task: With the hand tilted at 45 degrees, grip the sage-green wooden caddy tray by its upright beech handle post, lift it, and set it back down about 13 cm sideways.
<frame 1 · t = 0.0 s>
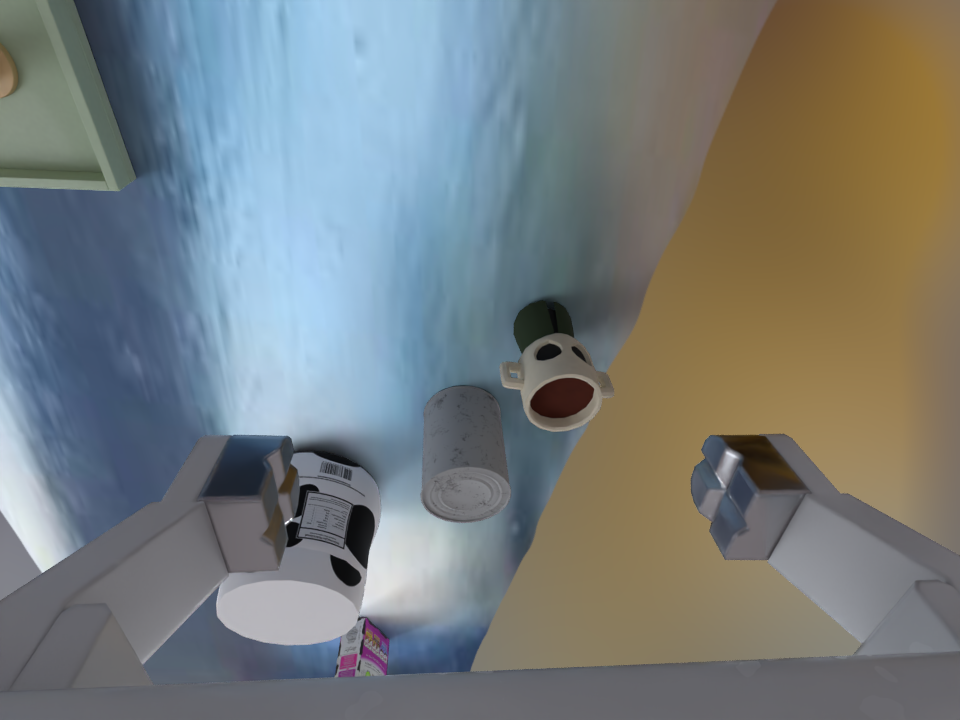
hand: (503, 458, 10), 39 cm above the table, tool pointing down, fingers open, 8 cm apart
milk container: (320, 480, 70), on the table
grey tin can: (462, 413, 64), on the table
character mug: (540, 321, 56), on the table
candy bar box: (366, 629, 98), on the table
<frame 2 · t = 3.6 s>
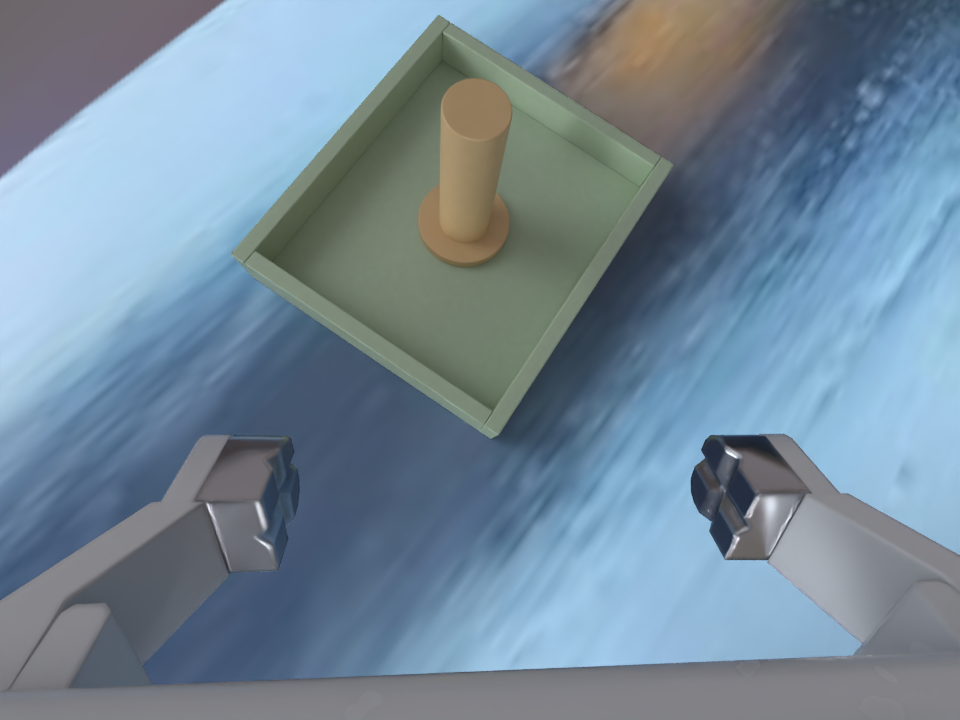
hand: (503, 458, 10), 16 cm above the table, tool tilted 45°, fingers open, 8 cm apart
caddy tray: (462, 233, 28), on the table
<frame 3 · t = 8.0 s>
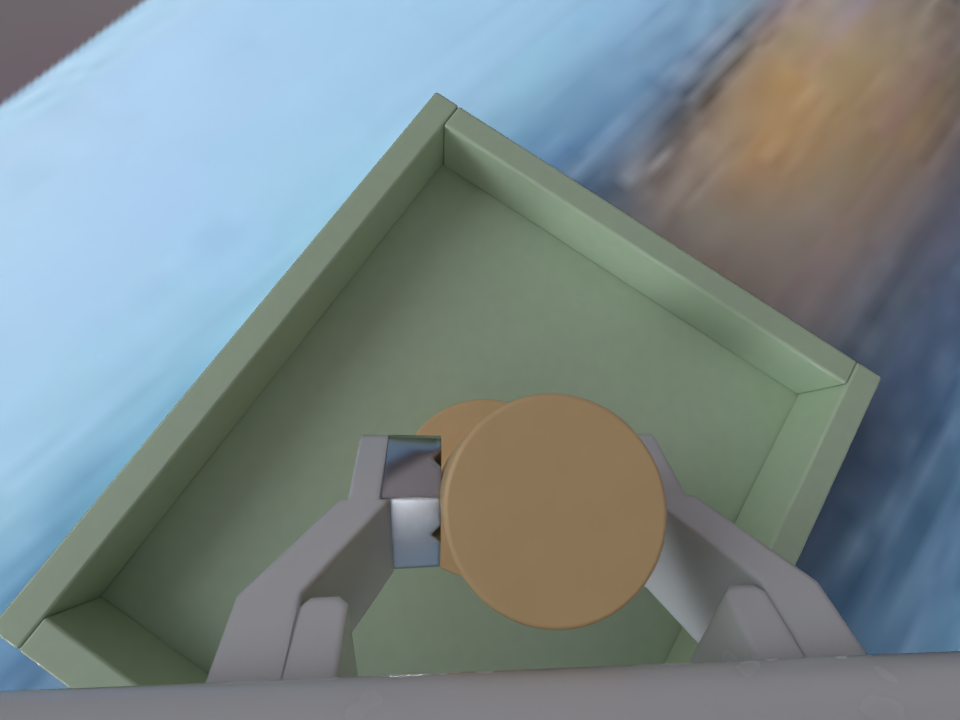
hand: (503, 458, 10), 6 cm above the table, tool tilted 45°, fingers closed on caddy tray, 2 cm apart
caddy tray: (480, 484, 15), on the table, touching gripper
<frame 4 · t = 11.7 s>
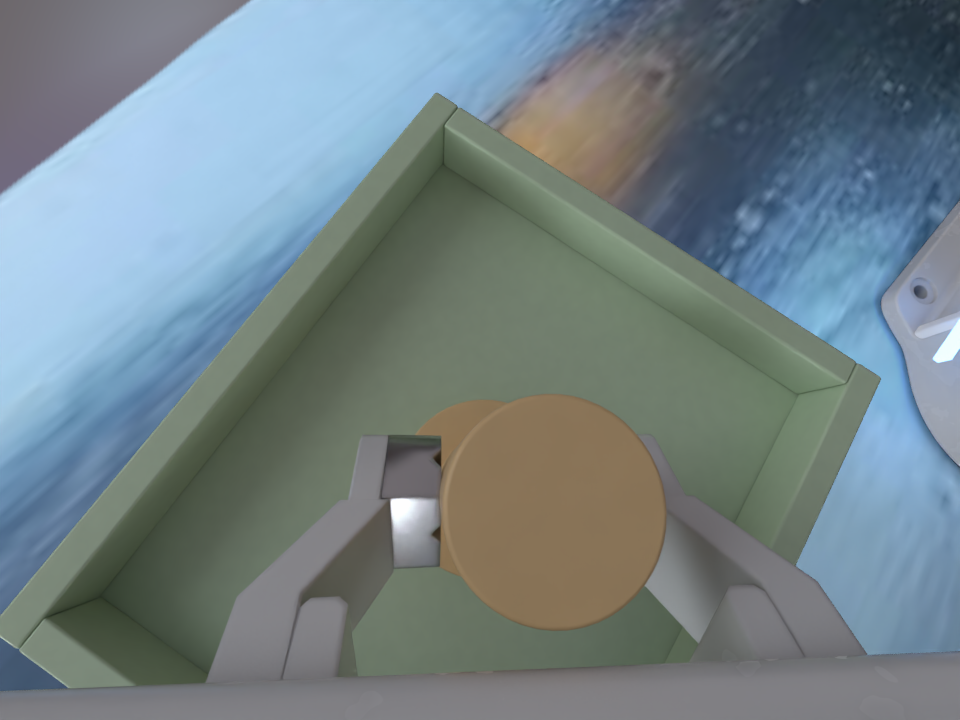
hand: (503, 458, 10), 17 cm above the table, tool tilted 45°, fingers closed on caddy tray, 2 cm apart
caddy tray: (480, 484, 15), point 12 cm above the table, touching gripper
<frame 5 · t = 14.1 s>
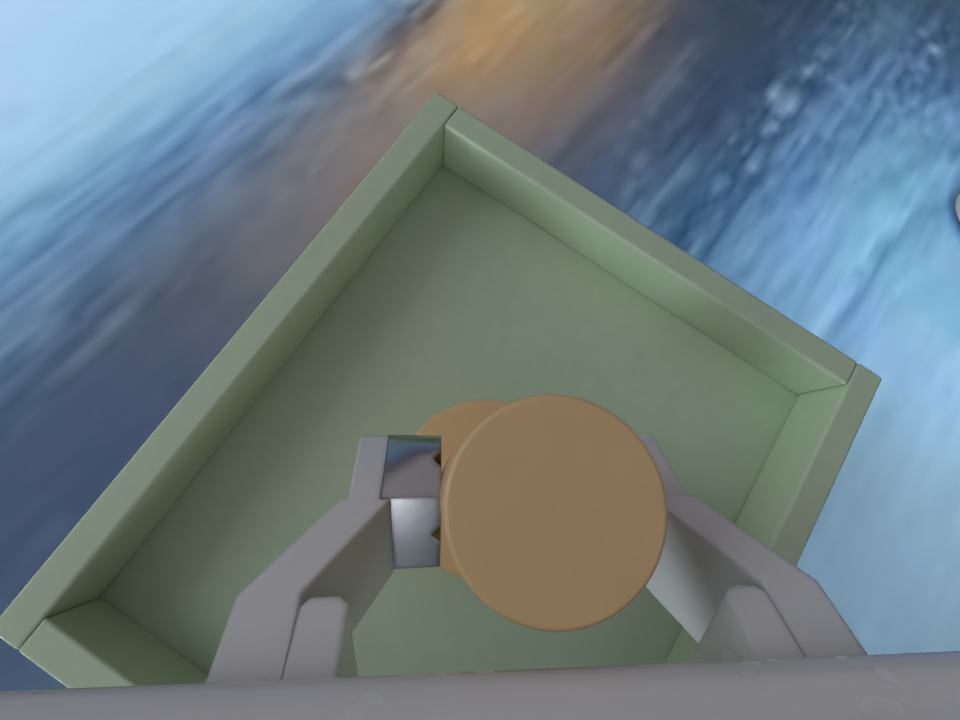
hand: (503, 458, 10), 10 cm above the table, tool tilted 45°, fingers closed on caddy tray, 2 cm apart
caddy tray: (480, 485, 15), point 4 cm above the table, touching gripper
when the fingers open (5 cm above the table, at t = 15.7 s): caddy tray stays where it is, on the table.
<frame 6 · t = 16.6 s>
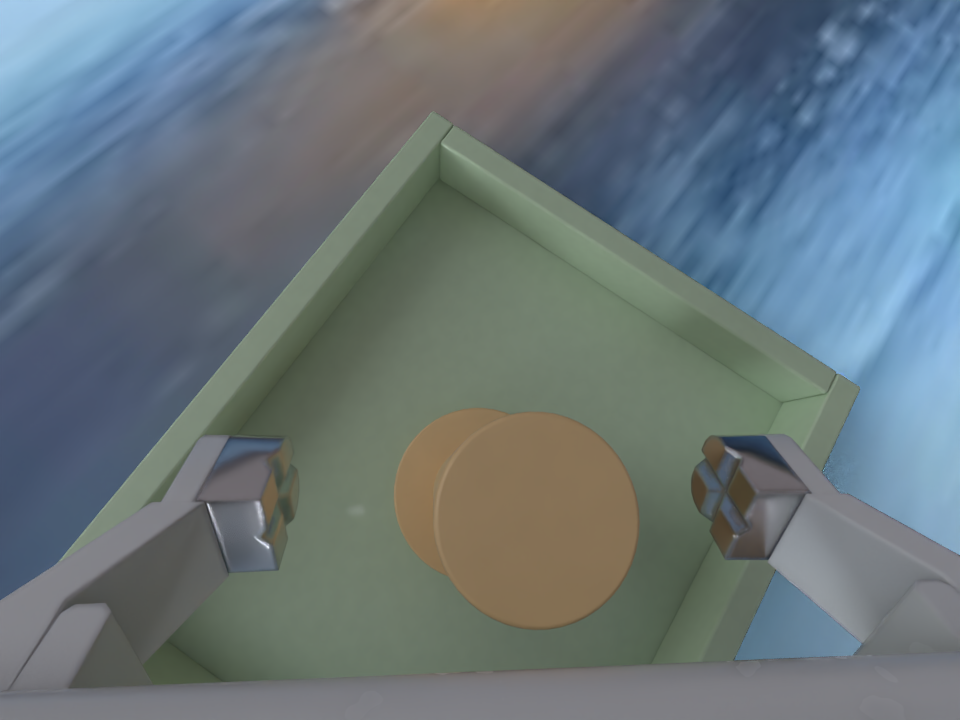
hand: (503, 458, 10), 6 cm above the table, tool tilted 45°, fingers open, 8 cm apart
caddy tray: (474, 490, 16), on the table
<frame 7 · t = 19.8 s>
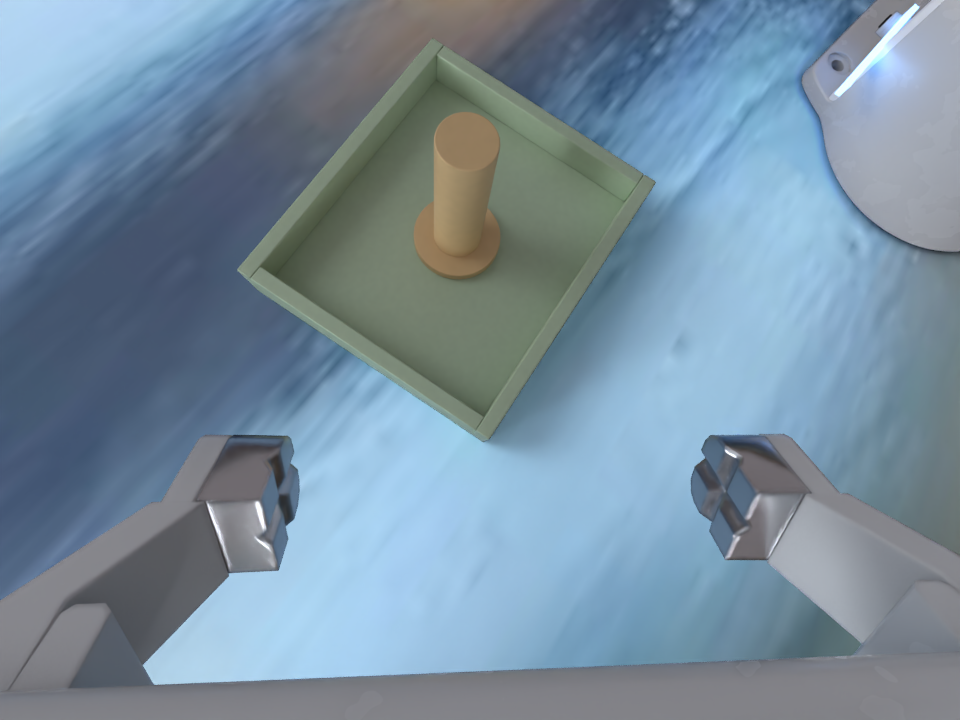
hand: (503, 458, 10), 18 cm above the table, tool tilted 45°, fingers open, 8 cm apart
caddy tray: (456, 246, 30), on the table
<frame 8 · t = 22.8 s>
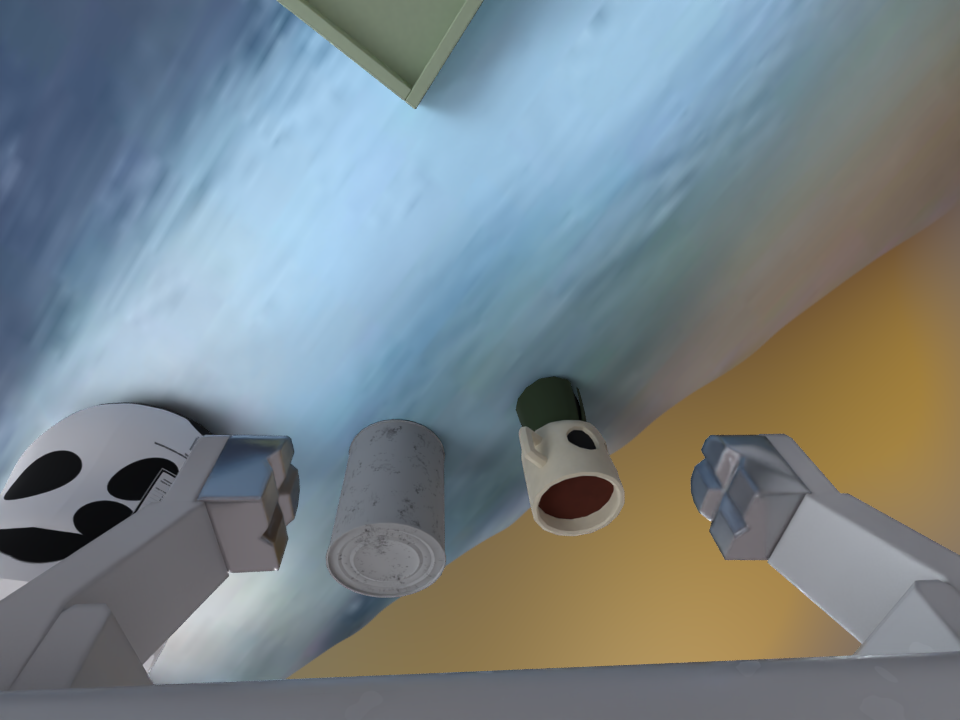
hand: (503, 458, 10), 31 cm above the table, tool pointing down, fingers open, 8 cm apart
milk container: (158, 457, 50), on the table
grey tin can: (397, 454, 52), on the table
character mug: (547, 398, 49), on the table
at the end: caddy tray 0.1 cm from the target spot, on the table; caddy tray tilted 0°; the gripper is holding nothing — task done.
